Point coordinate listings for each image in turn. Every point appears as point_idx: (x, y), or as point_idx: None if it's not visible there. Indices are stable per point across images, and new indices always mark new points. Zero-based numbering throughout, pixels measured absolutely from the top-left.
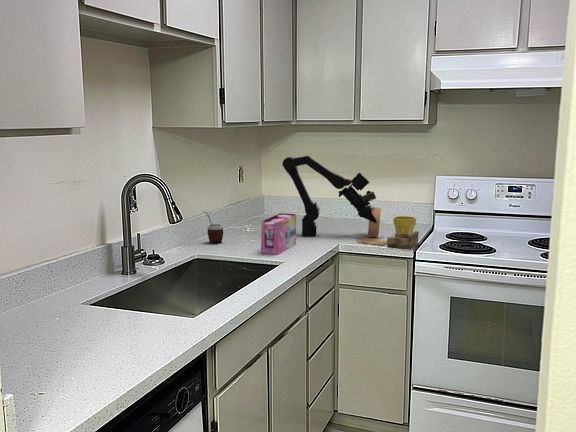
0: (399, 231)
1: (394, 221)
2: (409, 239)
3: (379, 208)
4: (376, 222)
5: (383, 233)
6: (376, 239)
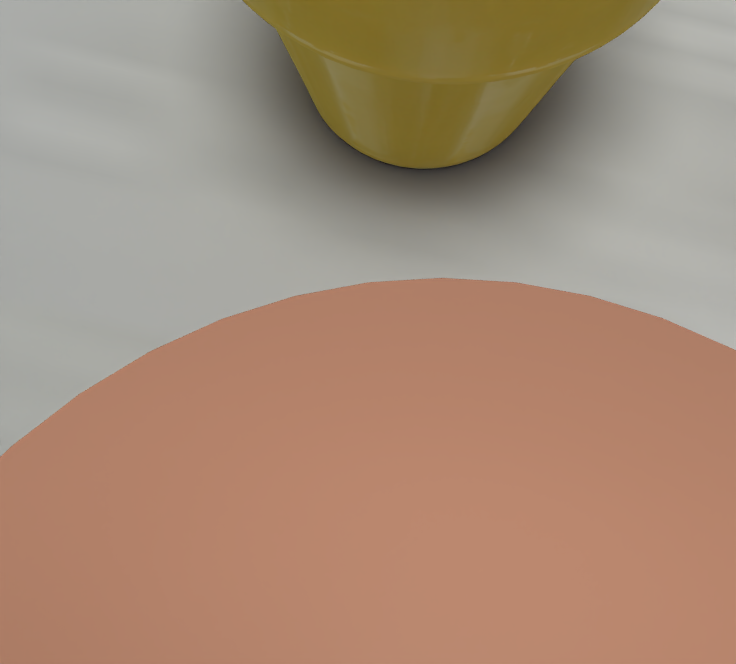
0: (547, 85)
1: (519, 24)
2: None
3: (445, 422)
4: None
5: (9, 306)
6: None
